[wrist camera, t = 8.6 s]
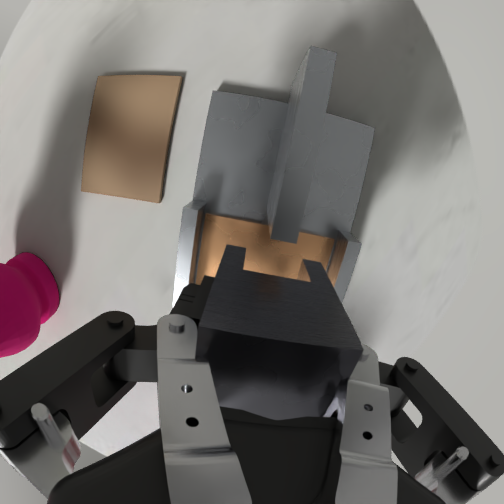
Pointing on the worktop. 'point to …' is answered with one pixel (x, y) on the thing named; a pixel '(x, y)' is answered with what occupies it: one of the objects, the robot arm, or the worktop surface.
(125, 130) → the pad
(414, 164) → the worktop surface
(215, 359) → the clip
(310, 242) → the grey metal bracket
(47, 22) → the worktop surface
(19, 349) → the pepper mill
